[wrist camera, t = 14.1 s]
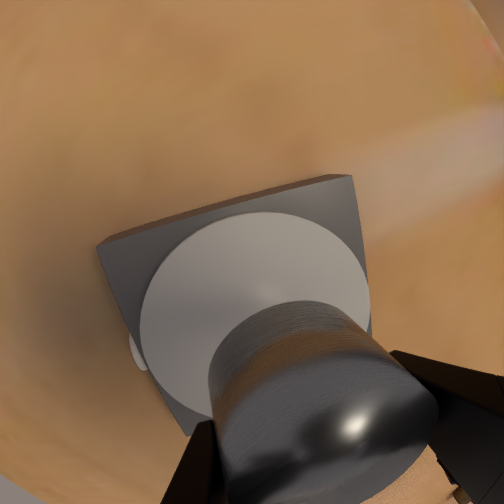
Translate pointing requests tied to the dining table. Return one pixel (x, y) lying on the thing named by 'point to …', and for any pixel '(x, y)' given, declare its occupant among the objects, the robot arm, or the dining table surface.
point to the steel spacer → (313, 409)
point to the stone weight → (461, 496)
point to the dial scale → (232, 277)
